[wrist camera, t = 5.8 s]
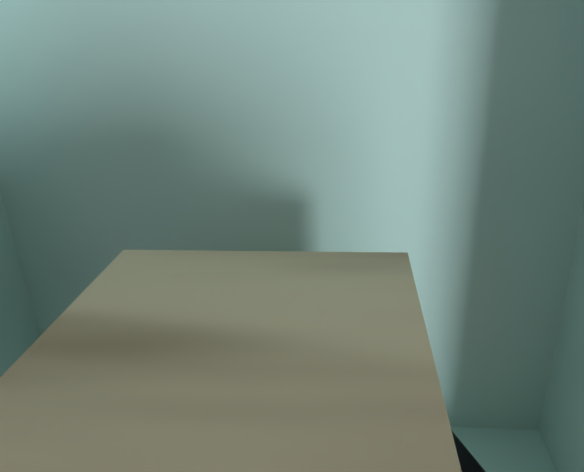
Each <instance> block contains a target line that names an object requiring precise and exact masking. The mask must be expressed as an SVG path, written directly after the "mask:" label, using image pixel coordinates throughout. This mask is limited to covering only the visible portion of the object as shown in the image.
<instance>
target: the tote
mask: <svg viewBox="0 0 584 472" xmlns="http://www.w3.org/2000/svg"><path fill="white" fill-rule="evenodd" d="M123 250H206V251H306V252H405V253H408V257H409V261H410V265H411V269H412V273H413V277H414V281H415V285H416V289H417V293H418V297H419V301H420V305H421V309H422V313H423V317H424V321H425V325H426V329H427V333H428V337H429V341H430V345H431V350H432V354H433V358H434V362H435V366H436V370H437V374H438V378H439V382H440V386H441V390H442V394H443V398H444V402H445V406H446V410H447V414H448V418H449V422H450V426H451V430H452V431H453V432H454V434H455V435H456V436H457V437H458V438H459V440H460V441H461V442H462V443H463V444H464V446H465V447H466V448H467V449H468V451H469V452H470V453H471V454H472V455H473V457H474V458H475V459H476V460H477V461H478V463H479V464H480V465H481V466H482V467H483V469H484V470H485V471H486V472H584V0H0V377H1V376H2V375H3V374H4V373H5V372H6V371H7V370H8V369H9V368H10V367H11V366H12V365H13V364H14V363H15V362H16V361H17V360H18V359H19V357H20V356H21V355H22V354H23V353H24V352H25V351H26V350H27V349H28V348H29V347H30V346H31V345H32V344H33V343H34V342H35V341H36V340H37V339H38V338H39V337H40V336H41V335H42V334H43V333H44V332H45V331H46V330H47V329H48V327H49V326H50V325H51V324H52V323H53V322H54V321H55V320H56V319H57V318H58V317H59V316H60V315H61V314H62V313H63V312H64V311H65V310H66V309H67V308H68V307H69V306H70V305H71V304H72V303H73V302H74V301H75V300H76V299H77V297H78V296H79V295H80V294H81V293H82V292H83V291H84V290H85V289H86V288H87V287H88V286H89V285H90V284H91V283H92V282H93V281H94V280H95V279H96V278H97V277H98V276H99V275H100V274H101V273H102V272H103V271H104V270H105V268H106V267H107V266H108V265H109V264H110V263H111V262H112V261H113V260H114V259H115V258H116V257H117V256H118V255H119V254H120V253H121V252H122V251H123Z"/></svg>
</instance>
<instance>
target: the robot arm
mask: <svg viewBox="0 0 584 472" xmlns="http://www.w3.org/2000/svg"><path fill="white" fill-rule="evenodd" d="M452 434H453V438H454V443H455V447H456V451H457V455H458V459H459V463H460V467H461V471H462V472H486V471H485V470H484V469H483V467H482V466H481V465H480V464H479V463H478V461H477V460H476V459H475V458H474V457H473V455H472V454H471V453H470V452H469V451H468V449H467V448H466V447H465V446H464V444H463V443H462V442H461V441H460V440H459V438H458V437H457V436H456V435H455V434H454V432H453V431H452Z"/></svg>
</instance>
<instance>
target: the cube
mask: <svg viewBox="0 0 584 472" xmlns="http://www.w3.org/2000/svg"><path fill="white" fill-rule="evenodd" d="M0 472H462V471H461V467H460V463H459V459H458V455H457V451H456V447H455V443H454V438H453V434H452V430H451V426H450V422H449V418H448V414H447V410H446V406H445V402H444V398H443V394H442V390H441V386H440V382H439V378H438V374H437V370H436V366H435V362H434V358H433V354H432V350H431V345H430V341H429V337H428V333H427V329H426V325H425V321H424V317H423V313H422V309H421V305H420V301H419V297H418V293H417V289H416V285H415V281H414V277H413V273H412V269H411V265H410V261H409V257H408V253H405V252H306V251H206V250H123V251H122V252H121V253H120V254H119V255H118V256H117V257H116V258H115V259H114V260H113V261H112V262H111V263H110V264H109V265H108V266H107V267H106V268H105V270H104V271H103V272H102V273H101V274H100V275H99V276H98V277H97V278H96V279H95V280H94V281H93V282H92V283H91V284H90V285H89V286H88V287H87V288H86V289H85V290H84V291H83V292H82V293H81V294H80V295H79V296H78V297H77V299H76V300H75V301H74V302H73V303H72V304H71V305H70V306H69V307H68V308H67V309H66V310H65V311H64V312H63V313H62V314H61V315H60V316H59V317H58V318H57V319H56V320H55V321H54V322H53V323H52V324H51V325H50V326H49V327H48V329H47V330H46V331H45V332H44V333H43V334H42V335H41V336H40V337H39V338H38V339H37V340H36V341H35V342H34V343H33V344H32V345H31V346H30V347H29V348H28V349H27V350H26V351H25V352H24V353H23V354H22V355H21V356H20V357H19V359H18V360H17V361H16V362H15V363H14V364H13V365H12V366H11V367H10V368H9V369H8V370H7V371H6V372H5V373H4V374H3V375H2V376H1V377H0Z"/></svg>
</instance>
